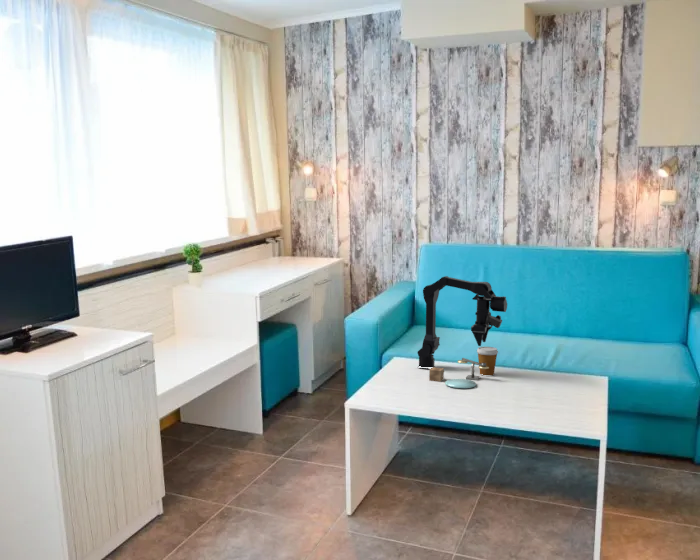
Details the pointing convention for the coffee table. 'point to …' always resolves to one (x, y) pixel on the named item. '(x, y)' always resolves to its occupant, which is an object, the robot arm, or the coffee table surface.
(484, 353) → the disposable coffee cup
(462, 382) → the teal dish
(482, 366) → the balance
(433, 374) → the tan block
